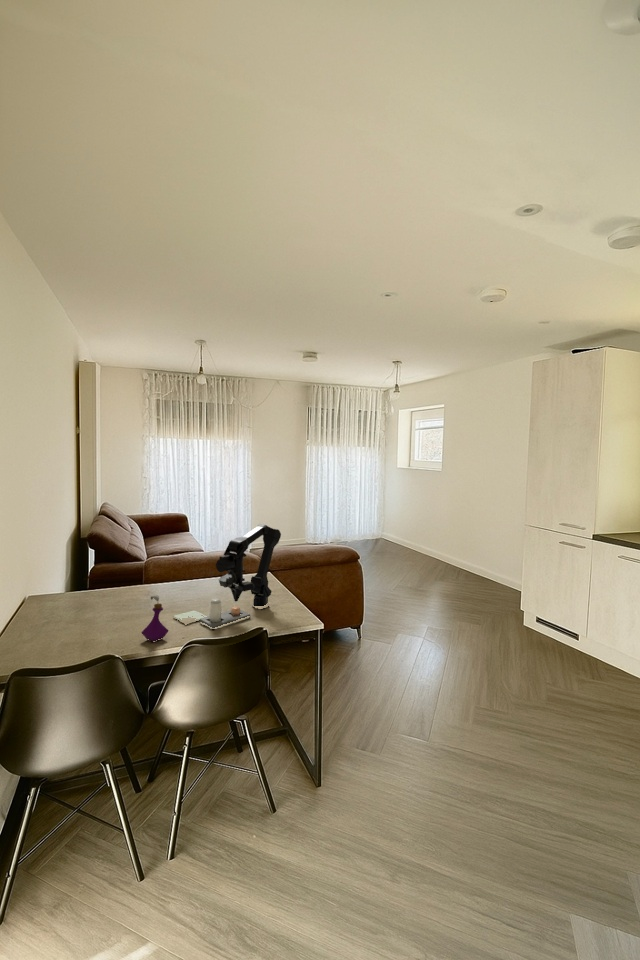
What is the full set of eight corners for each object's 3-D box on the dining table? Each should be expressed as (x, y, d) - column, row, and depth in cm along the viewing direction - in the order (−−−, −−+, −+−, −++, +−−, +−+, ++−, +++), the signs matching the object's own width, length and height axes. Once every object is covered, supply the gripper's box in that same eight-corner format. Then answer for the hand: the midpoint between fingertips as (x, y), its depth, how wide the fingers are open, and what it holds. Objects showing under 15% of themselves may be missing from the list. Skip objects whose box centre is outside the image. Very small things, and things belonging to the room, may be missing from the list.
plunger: (236, 612, 209) (236, 606, 209) (241, 614, 206) (242, 608, 206) (229, 614, 206) (229, 608, 206) (234, 616, 203) (234, 610, 203)
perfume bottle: (168, 638, 182) (169, 595, 181) (153, 645, 176) (153, 600, 174) (156, 634, 186) (156, 591, 184) (141, 640, 179) (141, 596, 178)
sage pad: (194, 612, 211) (194, 610, 211) (207, 618, 204) (207, 616, 204) (172, 618, 203) (172, 616, 203) (185, 625, 196) (185, 623, 196)
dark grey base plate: (236, 612, 213) (237, 608, 213) (250, 618, 206) (250, 614, 206) (200, 623, 198) (200, 619, 198) (213, 630, 191) (213, 625, 191)
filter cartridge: (216, 621, 202) (217, 597, 201) (223, 624, 198) (223, 600, 197) (207, 624, 198) (207, 600, 197) (213, 627, 195) (214, 603, 194)
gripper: (209, 566, 205) (209, 599, 206) (234, 575, 192) (233, 610, 193) (230, 562, 213) (229, 594, 214) (255, 570, 200) (254, 604, 202)
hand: (236, 601), depth 206 cm, fingers closed
